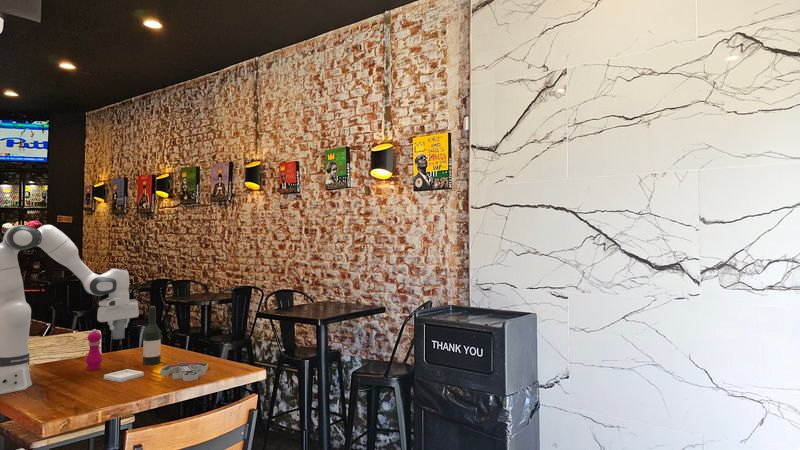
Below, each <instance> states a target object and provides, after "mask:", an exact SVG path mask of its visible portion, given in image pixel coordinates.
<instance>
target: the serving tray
mask: <svg viewBox="0 0 800 450" xmlns="http://www.w3.org/2000/svg"><path fill="white" fill-rule="evenodd" d="M143 377H145V373H144V371H139V370H133V369H130V368H129V369H128V368H126V369H123V370H119V371H115V372H110V373H106V374H103V380H106V381H107V380H108V381H111V382H117V383H123V382H127V381H131V380H135V379H139V378H143Z"/></svg>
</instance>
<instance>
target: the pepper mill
mask: <svg viewBox="0 0 800 450" xmlns="http://www.w3.org/2000/svg"><path fill="white" fill-rule="evenodd" d="M97 330H98V329H96V328H94V329H92V332H90V333H89V334H88V335H87V341H88V346H89V351H88V353H87V356H86V359H85V363H86V364H87V365H86V370H87V371H96V370H101V368H102V364H101V363H102V362H103V356H102V353H101V351H100V345H101V339H102V334H101V333H100V332H98V331H97Z"/></svg>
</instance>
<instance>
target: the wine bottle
mask: <svg viewBox="0 0 800 450" xmlns="http://www.w3.org/2000/svg"><path fill="white" fill-rule="evenodd" d="M142 336H143V339H142V340H143V341H142V342H143V343H142V346H143V347H142V365H143V366H155V365H158V364H160V363H161V353H162V351H161V349H162V348H161V347H162V345H161V343H162V341H161V340H162V337H161V336H162V331H161V329H160V328H159V326H158V325H157V307H156V306H155V305H150V306H149V308H148V324H147V326H146V327H145V328H144V330H143V333H142Z"/></svg>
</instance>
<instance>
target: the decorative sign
mask: <svg viewBox="0 0 800 450" xmlns="http://www.w3.org/2000/svg"><path fill="white" fill-rule="evenodd" d="M208 370H209V363H208V362H199V361H192V362H179V363H175V364H168V365H165V367H160V375H161V376H163V377H168V376H170V375H171V374H172V380H178V379H182V381H184V382H194V381H198V379H199V377H202V376H206V372H207V371H208Z"/></svg>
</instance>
